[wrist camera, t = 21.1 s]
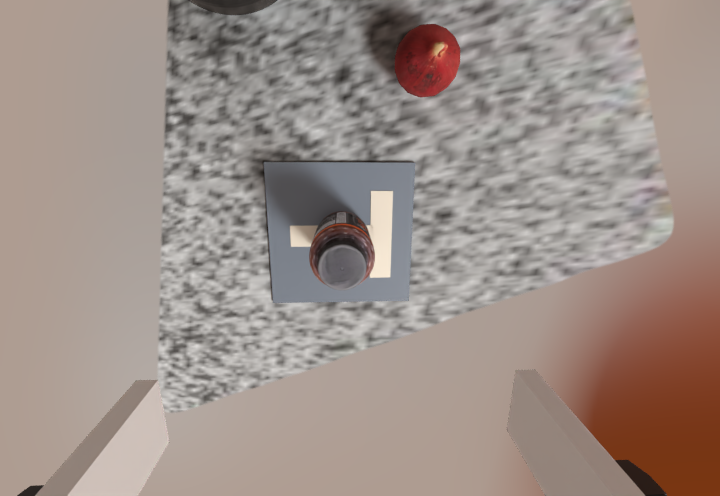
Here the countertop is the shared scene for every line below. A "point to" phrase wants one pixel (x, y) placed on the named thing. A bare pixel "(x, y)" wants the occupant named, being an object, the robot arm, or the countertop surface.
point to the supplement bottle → (342, 251)
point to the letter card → (334, 194)
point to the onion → (427, 60)
